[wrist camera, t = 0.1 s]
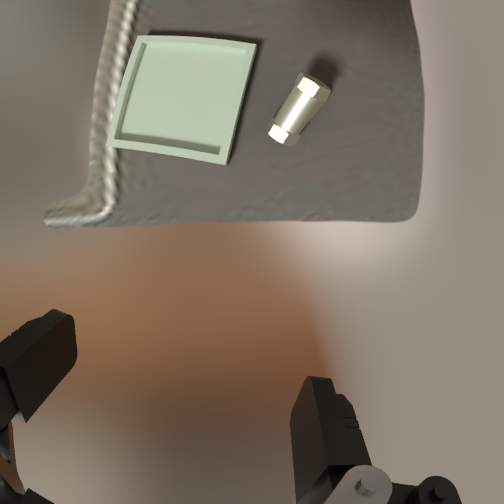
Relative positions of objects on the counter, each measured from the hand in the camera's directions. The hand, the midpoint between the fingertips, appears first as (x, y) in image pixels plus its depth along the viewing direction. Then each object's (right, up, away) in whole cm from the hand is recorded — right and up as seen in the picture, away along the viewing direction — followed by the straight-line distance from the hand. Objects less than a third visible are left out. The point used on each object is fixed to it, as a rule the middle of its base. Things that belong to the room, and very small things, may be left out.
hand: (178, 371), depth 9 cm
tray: (-7, +24, +24) cm, 34 cm away
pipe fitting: (+10, +22, +24) cm, 34 cm away
